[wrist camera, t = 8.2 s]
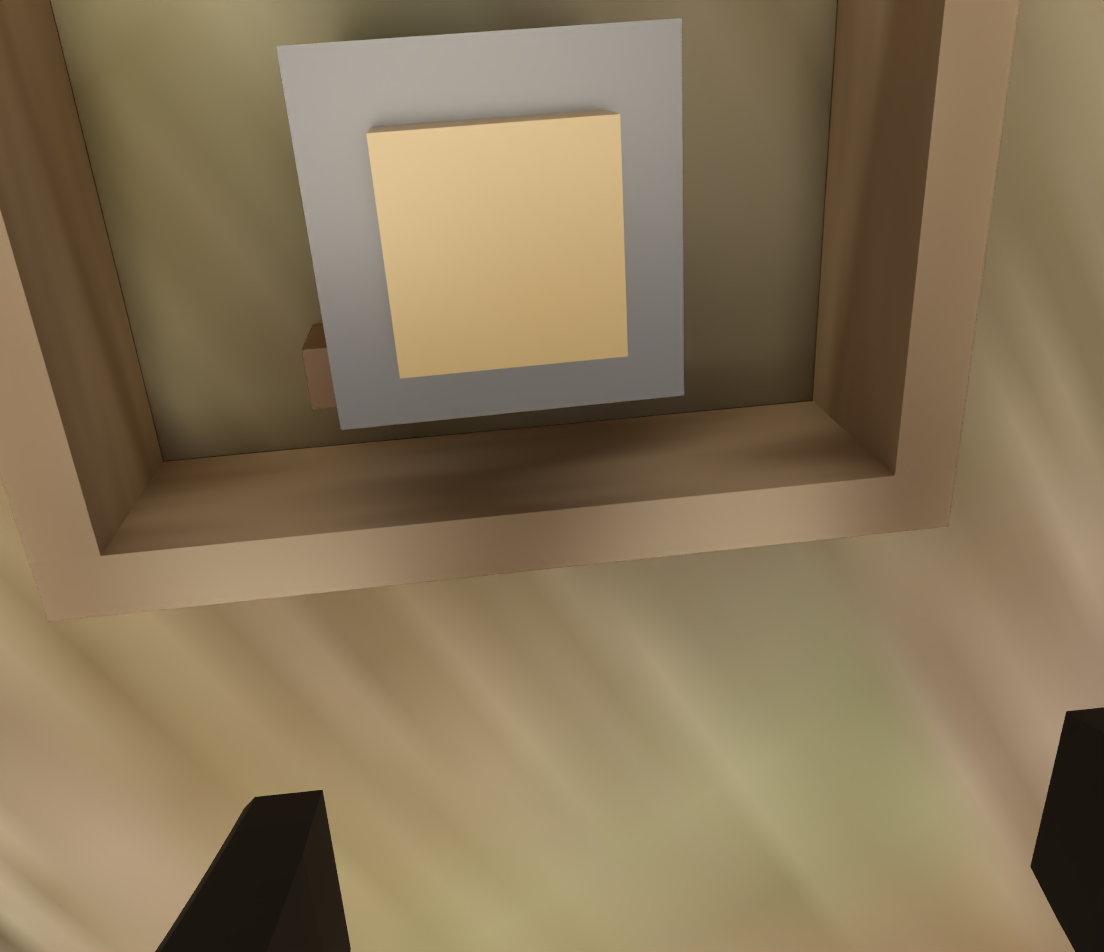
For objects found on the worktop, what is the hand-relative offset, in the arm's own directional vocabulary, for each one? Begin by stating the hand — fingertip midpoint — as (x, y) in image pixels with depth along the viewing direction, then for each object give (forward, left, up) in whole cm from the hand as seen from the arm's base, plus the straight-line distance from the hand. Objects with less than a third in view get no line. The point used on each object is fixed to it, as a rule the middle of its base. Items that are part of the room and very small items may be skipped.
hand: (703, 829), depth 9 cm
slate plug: (+1, -5, -10) cm, 11 cm away
